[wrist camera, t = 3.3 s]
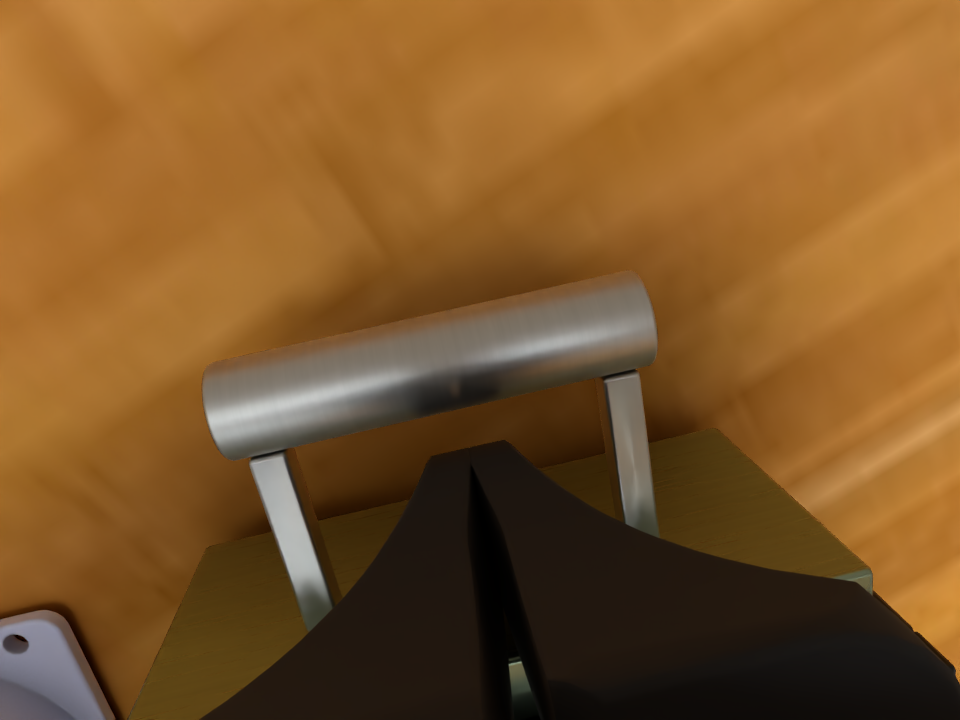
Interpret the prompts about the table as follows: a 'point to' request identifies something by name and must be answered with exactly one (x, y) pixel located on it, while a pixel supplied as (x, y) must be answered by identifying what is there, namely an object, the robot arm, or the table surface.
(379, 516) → the drawer
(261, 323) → the table surface
